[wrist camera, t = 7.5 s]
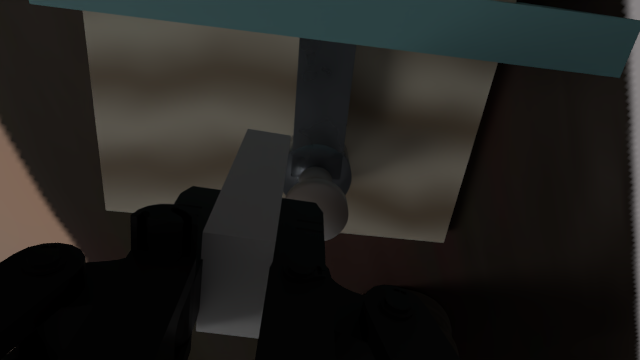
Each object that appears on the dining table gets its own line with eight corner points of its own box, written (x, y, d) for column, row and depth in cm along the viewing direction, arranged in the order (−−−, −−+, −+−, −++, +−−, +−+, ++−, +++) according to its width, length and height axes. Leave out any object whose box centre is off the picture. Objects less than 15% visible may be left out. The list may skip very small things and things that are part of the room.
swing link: (344, 189, 30) (347, 211, 27) (281, 185, 29) (277, 206, 27) (374, -50, 23) (382, -52, 20) (293, -58, 23) (291, -61, 20)
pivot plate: (438, 231, 34) (479, 318, 25) (114, 200, 32) (44, 281, 24) (521, -55, 25) (626, -68, 16) (81, -119, 23) (-50, -168, 15)
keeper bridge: (534, 47, 27) (619, 77, 20) (114, -7, 26) (29, 4, 18) (548, 6, 26) (644, 21, 19) (110, -54, 25) (18, -64, 17)
